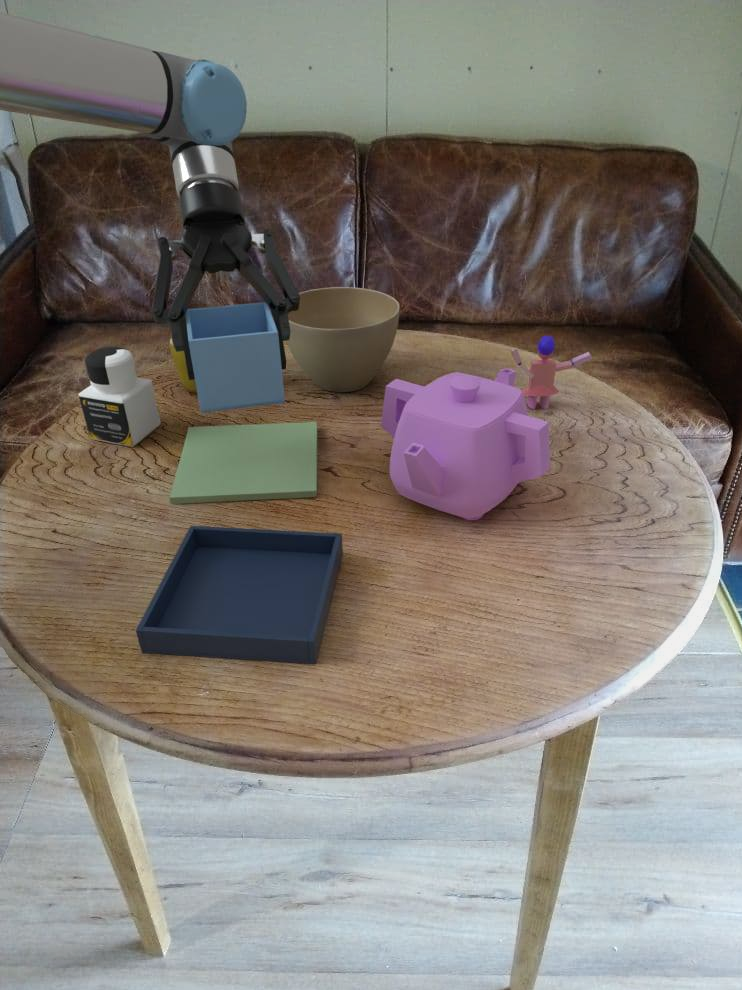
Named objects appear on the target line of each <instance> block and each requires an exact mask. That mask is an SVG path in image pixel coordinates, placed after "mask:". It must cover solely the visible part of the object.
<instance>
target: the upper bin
mask: <svg viewBox="0 0 742 990" xmlns="http://www.w3.org/2000/svg"><path fill="white" fill-rule="evenodd" d="M185 318H186V323H187V333H188V342H189V347H190V353H191V359H192V365H193V371H194V376H195V382H196V388H197V394H196V395H197V399H198V404H199V410H200V414H206V413H215V412H224V411H231V410H240V409H248V408H257V407H265V406H274V405H281V404H282V405H283V404H286V400H285V399H286V397H285V388H284V378H283V370H282V367H281V357H280V347H279V337H278V331H277V328H276V325H275V322H274V319H273V316H272V314H271V308H270V307H269V305H268V304H267V303H266V302H265V301H261V302H251V303H239V304H238V303H237V304H230V305H229V304H228V305H227V304H226V305H218V306H208V307H196V308H188V309H187V311H186V313H185Z"/></svg>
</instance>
